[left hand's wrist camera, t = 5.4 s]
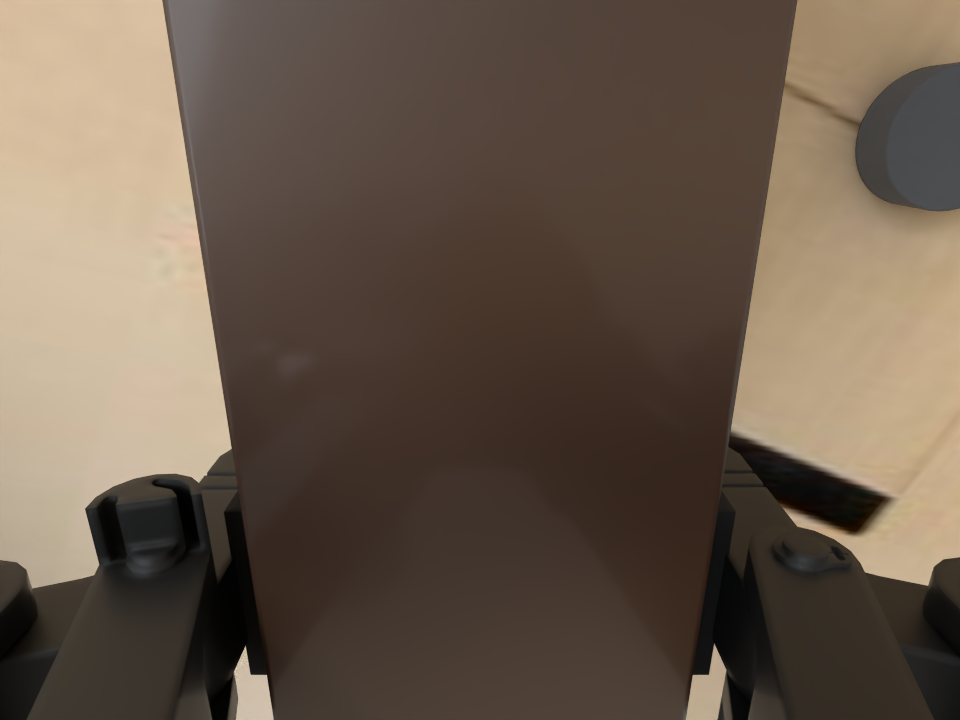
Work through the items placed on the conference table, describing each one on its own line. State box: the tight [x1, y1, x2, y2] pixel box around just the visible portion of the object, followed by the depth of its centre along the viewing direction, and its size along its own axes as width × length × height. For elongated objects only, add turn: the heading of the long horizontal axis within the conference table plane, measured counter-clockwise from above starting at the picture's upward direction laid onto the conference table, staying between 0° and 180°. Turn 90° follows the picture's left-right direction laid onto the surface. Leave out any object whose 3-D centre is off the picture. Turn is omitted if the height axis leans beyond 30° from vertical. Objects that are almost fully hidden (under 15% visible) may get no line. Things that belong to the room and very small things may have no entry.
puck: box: [856, 62, 960, 211], centre depth 23 cm, size 5×5×2 cm
